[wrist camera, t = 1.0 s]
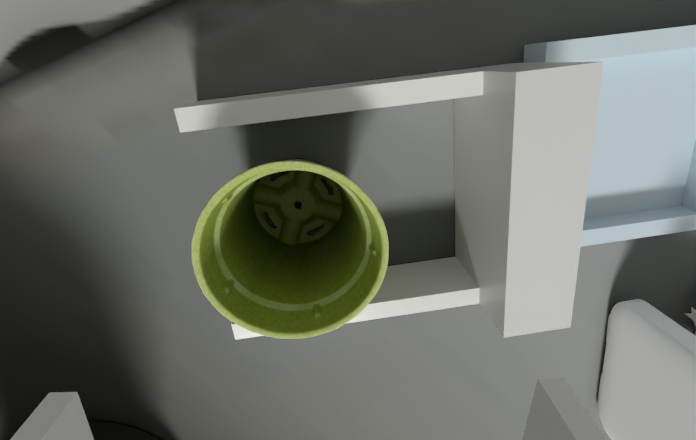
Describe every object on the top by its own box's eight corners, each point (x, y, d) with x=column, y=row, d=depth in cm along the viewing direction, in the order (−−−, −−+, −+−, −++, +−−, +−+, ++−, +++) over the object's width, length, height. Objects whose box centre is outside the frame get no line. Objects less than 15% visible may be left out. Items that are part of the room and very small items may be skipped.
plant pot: (197, 182, 26) (146, 234, 18) (317, 102, 25) (321, 120, 17) (280, 284, 29) (269, 367, 21) (389, 218, 28) (422, 280, 20)
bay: (245, 300, 29) (224, 380, 22) (197, 101, 24) (147, 117, 17) (506, 263, 30) (570, 327, 23) (515, 62, 25) (603, 61, 17)
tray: (513, 238, 30) (531, 253, 27) (524, 44, 25) (546, 42, 22) (683, 214, 30) (714, 227, 28) (727, 20, 25) (770, 16, 23)
